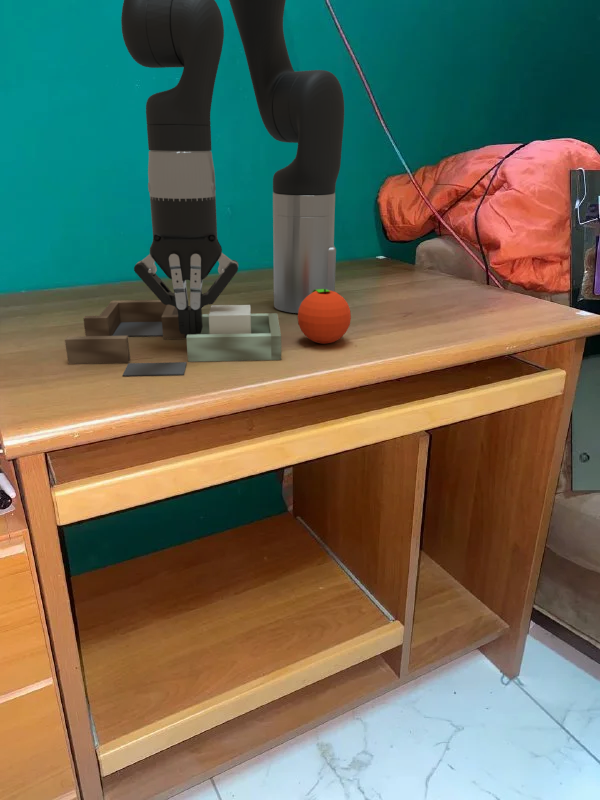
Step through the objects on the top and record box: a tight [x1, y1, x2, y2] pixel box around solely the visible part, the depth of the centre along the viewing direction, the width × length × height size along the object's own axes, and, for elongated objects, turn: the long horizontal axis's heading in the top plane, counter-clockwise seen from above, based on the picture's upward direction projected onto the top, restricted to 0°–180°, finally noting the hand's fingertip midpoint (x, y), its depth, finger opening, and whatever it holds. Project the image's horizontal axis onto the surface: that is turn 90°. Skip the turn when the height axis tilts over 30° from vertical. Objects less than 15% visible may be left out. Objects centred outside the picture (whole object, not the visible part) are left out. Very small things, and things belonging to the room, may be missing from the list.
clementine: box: [297, 289, 352, 345], centre depth 82 cm, size 8×7×7 cm
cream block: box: [208, 304, 252, 334], centre depth 79 cm, size 5×5×5 cm
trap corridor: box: [64, 299, 282, 377], centre depth 81 cm, size 25×23×3 cm
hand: (191, 336), depth 80 cm, fingers closed
